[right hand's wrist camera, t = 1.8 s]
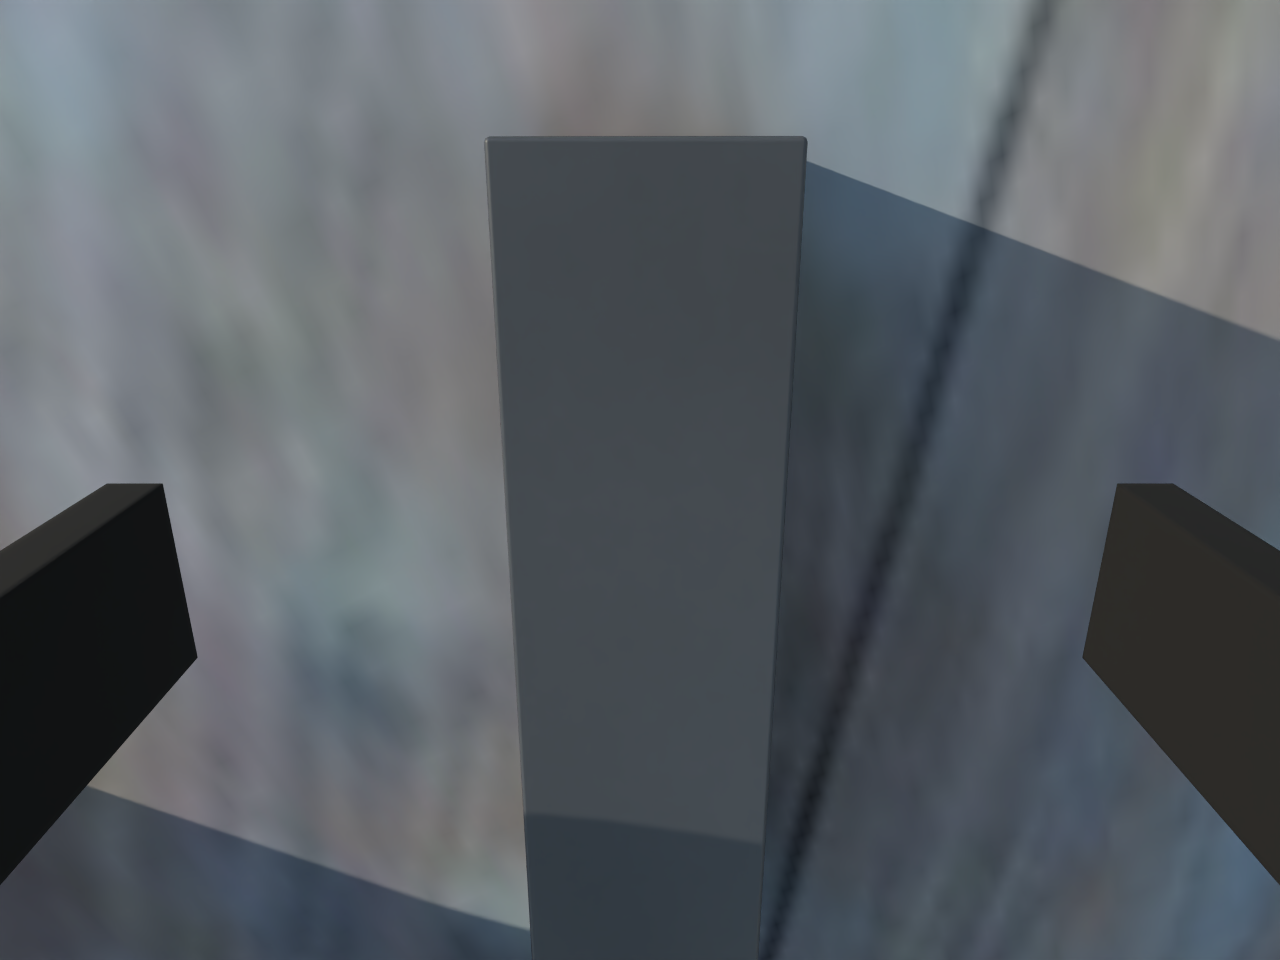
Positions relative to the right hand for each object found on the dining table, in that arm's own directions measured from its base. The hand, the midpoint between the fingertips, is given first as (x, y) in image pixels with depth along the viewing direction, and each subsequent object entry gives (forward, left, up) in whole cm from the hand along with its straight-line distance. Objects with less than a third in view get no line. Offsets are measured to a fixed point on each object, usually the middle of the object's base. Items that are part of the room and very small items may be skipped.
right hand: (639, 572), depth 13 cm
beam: (+7, +22, -12) cm, 26 cm away
